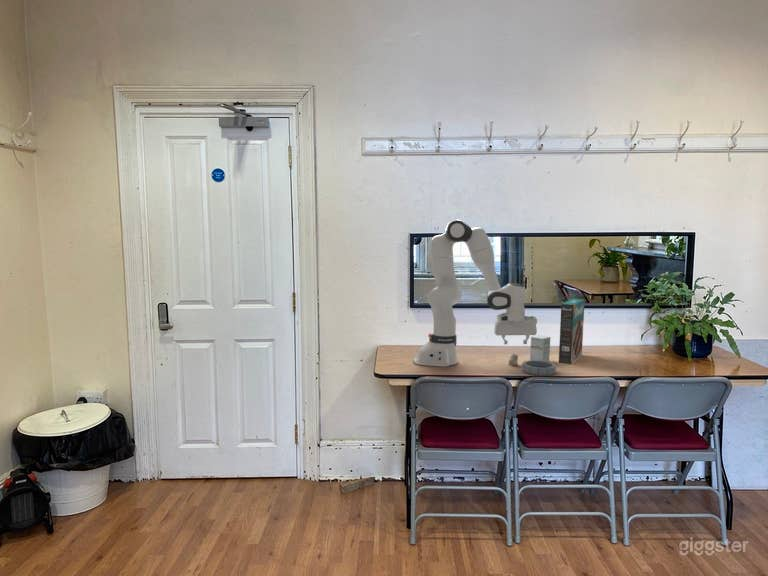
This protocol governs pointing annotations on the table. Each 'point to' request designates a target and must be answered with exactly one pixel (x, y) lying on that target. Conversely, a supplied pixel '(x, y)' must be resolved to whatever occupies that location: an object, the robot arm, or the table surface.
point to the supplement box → (540, 348)
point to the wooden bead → (513, 359)
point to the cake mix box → (571, 330)
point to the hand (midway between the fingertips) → (515, 344)
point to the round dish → (539, 367)
